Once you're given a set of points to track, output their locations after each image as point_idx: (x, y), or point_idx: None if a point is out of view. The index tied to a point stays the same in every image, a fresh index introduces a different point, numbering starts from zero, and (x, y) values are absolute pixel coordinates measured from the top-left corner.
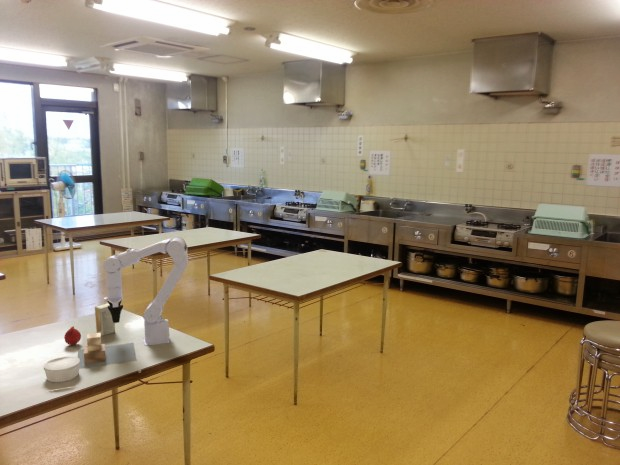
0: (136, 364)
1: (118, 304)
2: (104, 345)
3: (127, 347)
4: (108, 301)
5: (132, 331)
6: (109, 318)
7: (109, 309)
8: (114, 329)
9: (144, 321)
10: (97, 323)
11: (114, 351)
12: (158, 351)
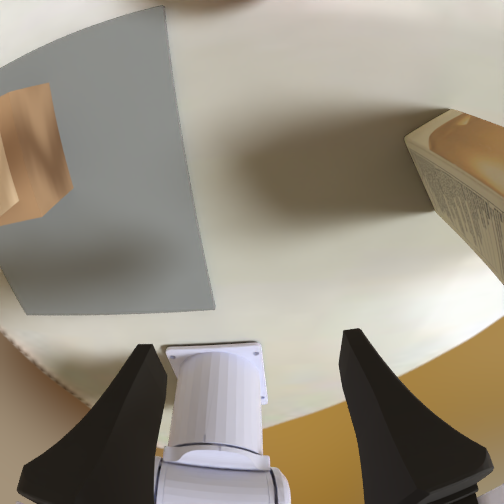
0: (10, 309)
1: (367, 476)
2: (18, 220)
3: (150, 287)
4: (412, 491)
5: (400, 291)
6: (481, 238)
7: (29, 469)
8: (442, 217)
9: (197, 447)
10: (484, 135)
11: (99, 231)
12: (117, 373)
